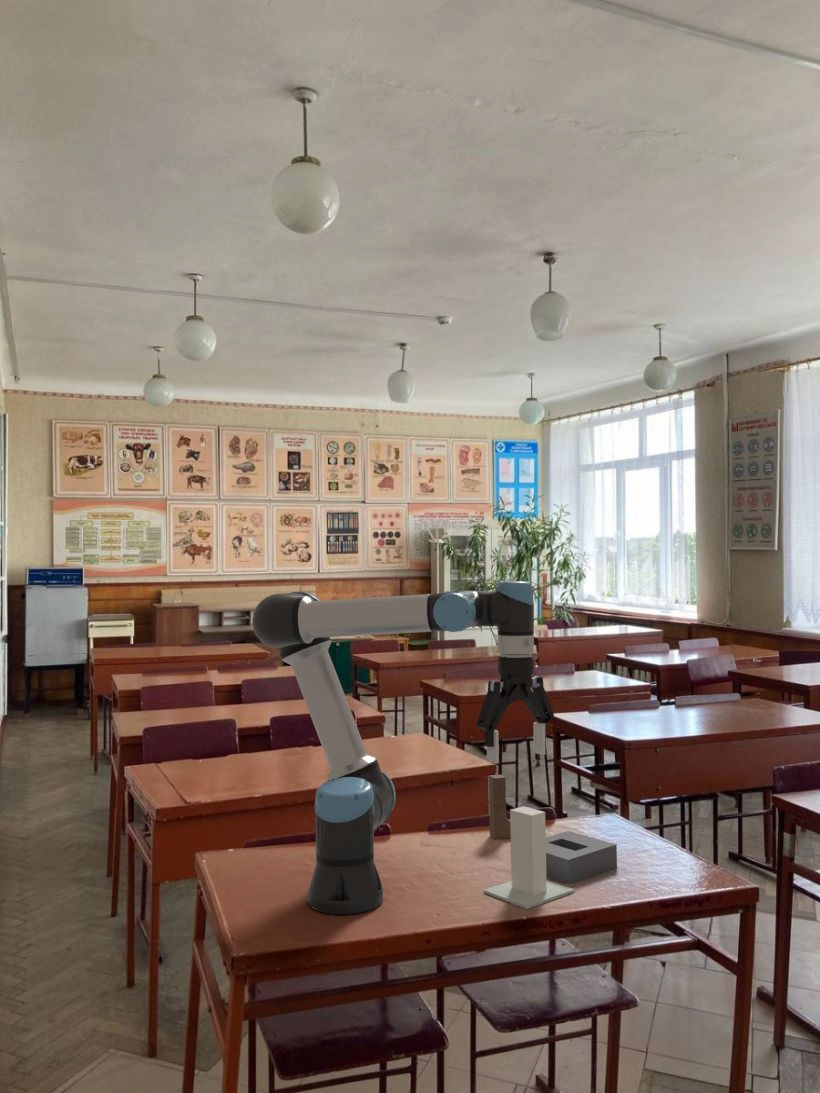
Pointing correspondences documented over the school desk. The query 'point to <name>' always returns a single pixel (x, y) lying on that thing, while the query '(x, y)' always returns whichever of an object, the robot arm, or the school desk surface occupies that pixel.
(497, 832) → the wooden block
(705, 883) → the school desk surface
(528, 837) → the plug
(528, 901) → the mat
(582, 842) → the socket block
